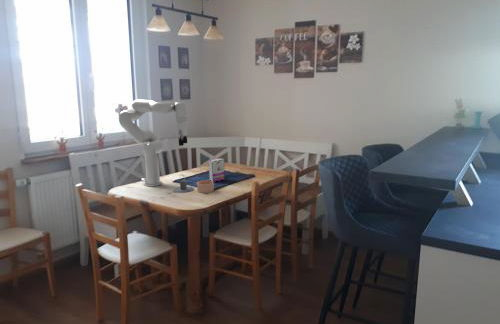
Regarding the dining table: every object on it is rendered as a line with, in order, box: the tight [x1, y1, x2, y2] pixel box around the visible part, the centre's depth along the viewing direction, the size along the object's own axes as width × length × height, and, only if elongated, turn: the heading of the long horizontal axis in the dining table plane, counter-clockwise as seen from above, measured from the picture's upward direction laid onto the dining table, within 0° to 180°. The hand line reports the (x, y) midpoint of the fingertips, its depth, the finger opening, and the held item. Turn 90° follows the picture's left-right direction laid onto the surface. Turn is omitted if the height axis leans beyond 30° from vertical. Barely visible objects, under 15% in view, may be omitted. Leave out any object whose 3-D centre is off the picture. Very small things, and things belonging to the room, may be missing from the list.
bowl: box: [196, 179, 215, 194], centre depth 274 cm, size 11×11×6 cm
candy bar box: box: [208, 158, 226, 183], centre depth 299 cm, size 11×5×16 cm, turn 129°
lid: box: [173, 179, 195, 194], centre depth 277 cm, size 14×14×7 cm
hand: (183, 144), depth 279 cm, fingers open, 9 cm apart
